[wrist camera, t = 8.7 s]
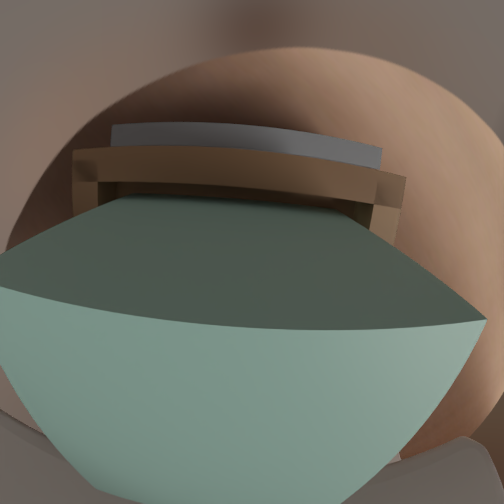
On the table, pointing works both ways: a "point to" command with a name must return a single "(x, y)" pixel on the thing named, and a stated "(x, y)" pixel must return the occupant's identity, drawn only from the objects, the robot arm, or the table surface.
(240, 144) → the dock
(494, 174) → the table surface
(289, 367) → the mint green cube
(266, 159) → the pallet
